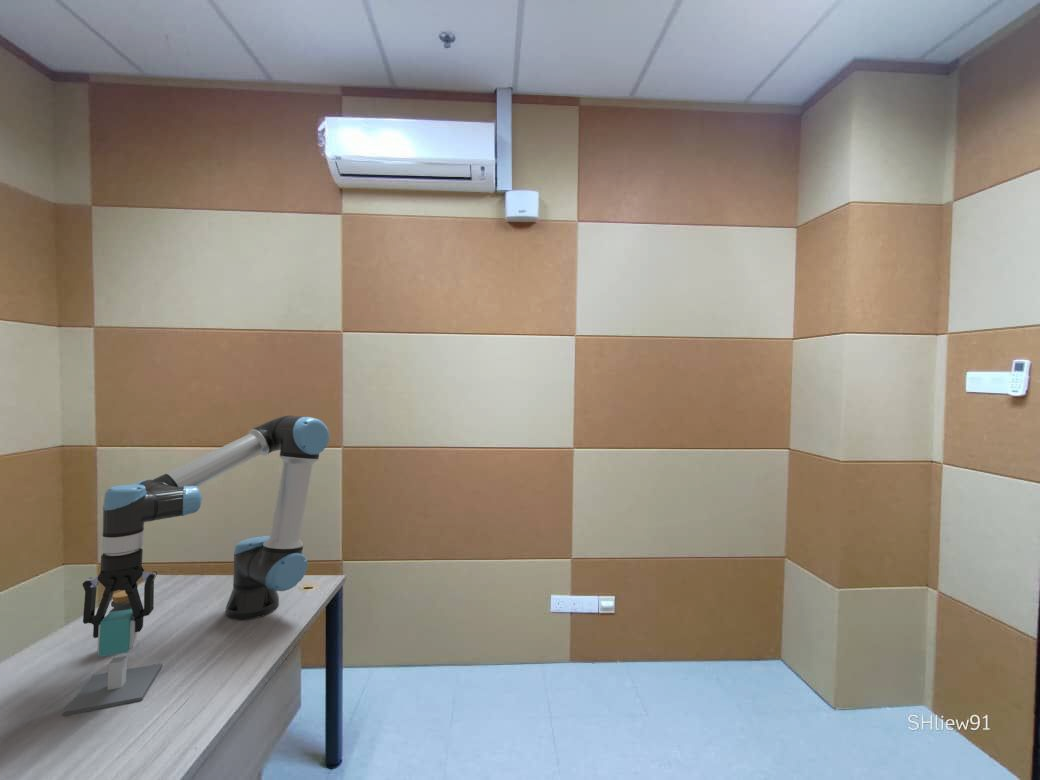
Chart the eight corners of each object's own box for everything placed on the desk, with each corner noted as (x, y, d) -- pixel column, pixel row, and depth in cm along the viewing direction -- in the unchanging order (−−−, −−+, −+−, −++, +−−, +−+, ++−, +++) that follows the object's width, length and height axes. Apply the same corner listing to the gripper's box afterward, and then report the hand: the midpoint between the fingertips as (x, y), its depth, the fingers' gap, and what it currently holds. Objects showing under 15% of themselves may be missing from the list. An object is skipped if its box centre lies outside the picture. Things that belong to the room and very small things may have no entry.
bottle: (118, 654, 121) (120, 599, 121) (101, 651, 122) (103, 596, 123) (140, 643, 127) (143, 590, 127) (124, 640, 128) (126, 587, 128)
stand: (162, 666, 117) (163, 639, 117) (142, 700, 104) (143, 670, 104) (92, 678, 111) (94, 649, 112) (62, 715, 99) (63, 683, 99)
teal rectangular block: (135, 641, 111) (137, 608, 111) (127, 652, 106) (128, 618, 107) (108, 644, 109) (110, 611, 109) (98, 656, 104) (100, 622, 105)
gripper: (173, 541, 115) (169, 633, 115) (80, 549, 108) (76, 646, 108) (163, 551, 108) (159, 648, 108) (64, 560, 101) (59, 664, 101)
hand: (117, 647), depth 108 cm, fingers closed on teal rectangular block, 5 cm apart
